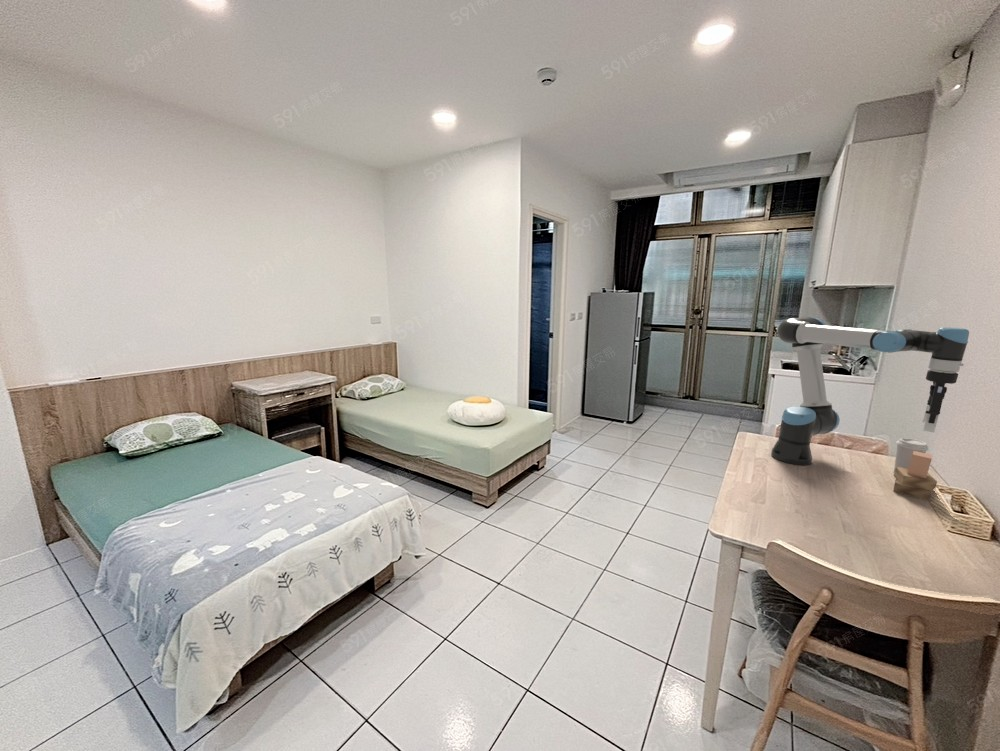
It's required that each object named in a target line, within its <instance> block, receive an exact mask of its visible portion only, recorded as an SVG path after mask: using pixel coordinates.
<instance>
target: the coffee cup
mask: <svg viewBox="0 0 1000 751" xmlns="http://www.w3.org/2000/svg"><path fill="white" fill-rule="evenodd" d="M895 444H896V451H895V452H896V453H895V460H894V469H893V473H894V472H895V468H896V467H901V468H907V469H909V465H910V462H911V458H912V454H913V451H917V452H921V453H925V454H927V451H929V446H928V444H927V442H925V441H923V440H920V439H916V438H911V437H910V438H909V437H900V438H899V439H898V440H896V442H895Z"/></svg>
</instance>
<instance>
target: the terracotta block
mask: <svg viewBox="0 0 1000 751" xmlns="http://www.w3.org/2000/svg"><path fill="white" fill-rule="evenodd" d="M932 459H933V454H929V453H921V452H917V451H913V454H912V458H911V462H910V465H909V469H908V472H907V474H910V475H914V476H918V477H922V478H926V477H927V473H929V469H930V467H931V466H930V465H931V463H932Z"/></svg>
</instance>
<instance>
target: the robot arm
mask: <svg viewBox="0 0 1000 751" xmlns="http://www.w3.org/2000/svg"><path fill="white" fill-rule="evenodd" d="M777 336H778V338H779V340H781V341H782V342H784V343H786V344H791V347H792V349H793V350H794V351H796V354H797V362H798V370H799V378H800V386H801V392H802V403H801V404H800V405H799V406H790V407H787V408H785V409H784V410H783V412H782V415H781V423H780V429H779V434H778V435H779V436H778V439H777V440H776V442H775V444H774V445H773V447H772V449H771V451H770V452H771V453H770V455H771V456H772V457H773V458H774V459H776V460H778V461H780V462H783V463H787V464H790V465H797V466H808V465H812V461H813V455H812V450H811V445H810V444H811V442H812V436H817V435H825V434H826V435H827V434H829V433H831V432H833V431H834V430H836V429H837V428H838V426H839V425H840V416H839V414H838V412H836V410H834V409H833V405H832V403H831V402H829V401H828V399H827V392H826V384H825V378H824V377H825V376H824V370H823V369H824V368H823V363H822V353H821V348H822V347H824V345H830V346H840V347H847V348H857V349H865V350H866V349H867V350H874V351H878V352H881V353H889V354H891V353H896V352H897V353H898V352H910V351H913V352H914V351H915V352H921V353H922V352H923V353H931V357H930V360H929V363H928V370H927V372H926V375H925V376H926V377H925V379H926V380H927V381H929V382H932V385H931V384H930V387H929V397H928V398H927V405H926V407H925V409H924V410H925V411H924V414H923V419H922V423H924V426H923V428H922V431H924V432H930V433H935V432H936V431H935V430H936V427H937V424H938V419H939V415H940V414H941V409H942V405H943V401H944V399H945V396H946V393H947V390H948V388H947V386H946V385H947V384H948V385H949V384H951V385H953V384H956V383H957V380H958V378H959V377H958V376H959V373H958V372H960V369H961V367H964V363H962V361H963V359H964V354H965V352H966V348H967V345H968V344H969V341H968V340H969V336H970V331H969V329H968V328H967V329H966V328H961V327H949V326H948V327H947V326H946V327H945V326H943V327H940V328H938V330H937V331H924V330H923V331H922V330H916V329H915V330H914V329H913V330H912V329H903V328H902V329H897V330H884V329H881V330H879V329H870V328H859V327H857V328H856V327H845V326H835V325H827V324H826V323H825V322H824V321H823V320H822V319H819V318H817V317H809V316H808V317H791V318H787V319H785V320H783V321H782V322H781V323H780V324H779V325H778V328H777Z"/></svg>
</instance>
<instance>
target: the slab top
mask: <svg viewBox="0 0 1000 751" xmlns="http://www.w3.org/2000/svg"><path fill="white" fill-rule="evenodd" d="M907 472H908V469H907V468H901V467H896V468H895V472H894V471H893V477H894V479H895V480H896V479H897V481H898V482H899V483H900V484H901V485H903V486H908V487H913V488H919V489H924V490H929V491H931V492H934V491H933V489H934V488H935V489H936V488H937V484H938V481H937V480H936V478H934V477H933V476H932V475H931V474H930V473H929V472H928V473H927V477H926V478H922V477H918V476H914V475H910V474H907Z"/></svg>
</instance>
